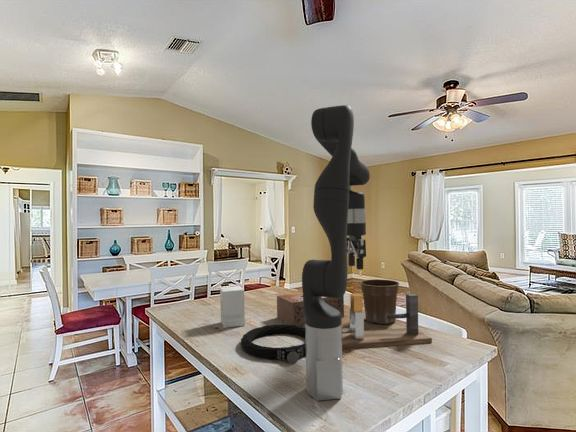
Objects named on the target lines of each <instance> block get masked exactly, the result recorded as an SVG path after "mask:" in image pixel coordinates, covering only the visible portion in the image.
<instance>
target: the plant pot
mask: <svg viewBox="0 0 576 432" xmlns="http://www.w3.org/2000/svg"><path fill="white" fill-rule="evenodd" d="M359 284H360V286H361V287H360V288H361V293H362V299H363V305H364V306H363V307H364V316H365V320H366V322H368V323H372V324H376V323H377V324H379V325H389V324H393V323H394V322H396V319H387V317H386V315H388V314H397V299H398V297H397V296H398V292H399V285H400V282H399V281H396V280H390V279H366V280H361V281H360V282H359Z"/></svg>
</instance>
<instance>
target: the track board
mask: <svg viewBox="0 0 576 432" xmlns="http://www.w3.org/2000/svg"><path fill="white" fill-rule="evenodd" d="M418 296H419V295H418V294H416V293H406V294H405V313H396V314H388V315H386V317H387V319H395V320H397V319H406V321H405V322H406V323H405V324H406V327H400V328H388V329H387V328H385V329H372V330H371V329H369V330H364V339H355V338H354V337H353V336H352V335H351V334H350V333H342V350H348V349H360V348H361V349H364V348H374V347H375V348H376V347H388V346H389V347H390V346H391V347H392V346H404V345H416V344H417V345H419V344H429V343H432V342H433V338H432V337H431V336H429V335H427V334H426V333H424V332H422V331H421V330H419V297H418Z"/></svg>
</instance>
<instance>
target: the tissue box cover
mask: <svg viewBox="0 0 576 432" xmlns="http://www.w3.org/2000/svg"><path fill="white" fill-rule="evenodd" d="M344 298H345V296H343V297H341V298H330V297H322V299H323V300H324V302H326V303H327V304H328V305H329V306H331V307H333V308H335V309H337V310H338V311H339V312H340V313H341V317H342V318H344V317H345V302H344V300H345V299H344ZM276 318H277V319H278V320H280V321H282V322H284V323H286V324H287V325H296V326H304V325H305V315H304V306H303V291H302V292H296V293H287V294H286V293H285V294H281V295H276Z"/></svg>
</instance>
